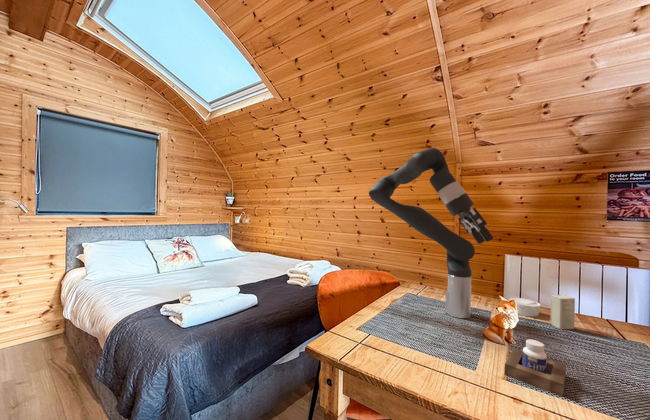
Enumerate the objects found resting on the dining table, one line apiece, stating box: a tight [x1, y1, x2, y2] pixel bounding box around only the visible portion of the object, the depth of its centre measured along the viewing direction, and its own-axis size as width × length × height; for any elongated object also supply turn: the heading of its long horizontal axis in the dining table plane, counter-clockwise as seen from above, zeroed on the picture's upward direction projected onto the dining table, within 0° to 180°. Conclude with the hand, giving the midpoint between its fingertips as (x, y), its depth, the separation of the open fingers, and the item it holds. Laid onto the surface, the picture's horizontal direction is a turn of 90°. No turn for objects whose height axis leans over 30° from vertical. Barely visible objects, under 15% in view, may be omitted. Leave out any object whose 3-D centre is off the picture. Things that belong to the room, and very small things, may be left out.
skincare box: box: [550, 294, 576, 330], centre depth 106 cm, size 6×4×12 cm
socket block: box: [504, 348, 567, 397], centre depth 74 cm, size 12×12×3 cm
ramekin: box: [509, 297, 542, 318], centre depth 121 cm, size 11×11×5 cm
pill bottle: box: [522, 338, 548, 374], centre depth 74 cm, size 5×5×9 cm
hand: (485, 241), depth 84 cm, fingers open, 8 cm apart
